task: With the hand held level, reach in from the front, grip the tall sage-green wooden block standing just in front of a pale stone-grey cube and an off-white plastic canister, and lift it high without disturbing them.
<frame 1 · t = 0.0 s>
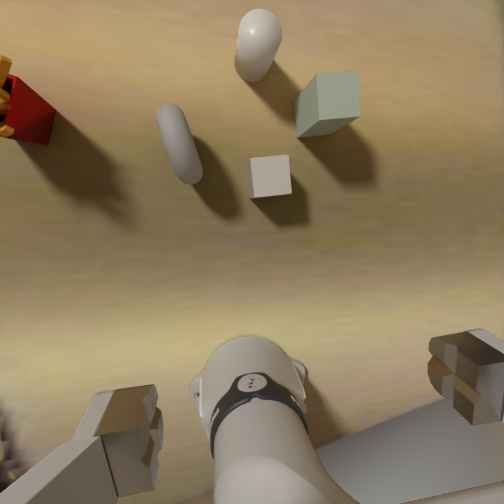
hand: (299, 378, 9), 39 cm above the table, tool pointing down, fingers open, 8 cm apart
sage block: (312, 118, 46), on the table
white canister: (252, 63, 44), on the table
grey cube: (264, 179, 47), on the table
french fries: (43, 119, 42), on the table
donut: (184, 152, 45), on the table
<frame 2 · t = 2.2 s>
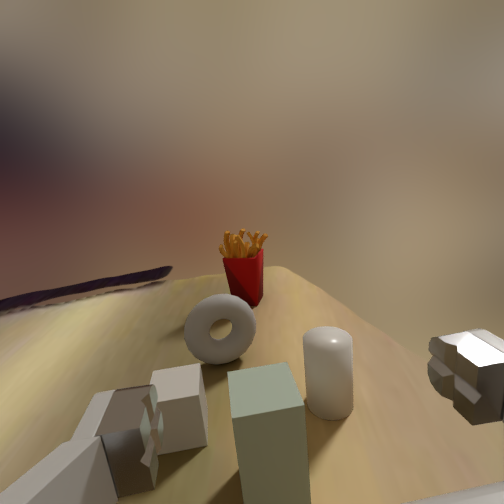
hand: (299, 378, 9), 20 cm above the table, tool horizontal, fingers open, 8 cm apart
sage block: (273, 488, 26), on the table
white canister: (329, 402, 35), on the table
grey cube: (183, 430, 33), on the table
french fries: (251, 303, 62), on the table
donut: (225, 362, 44), on the table
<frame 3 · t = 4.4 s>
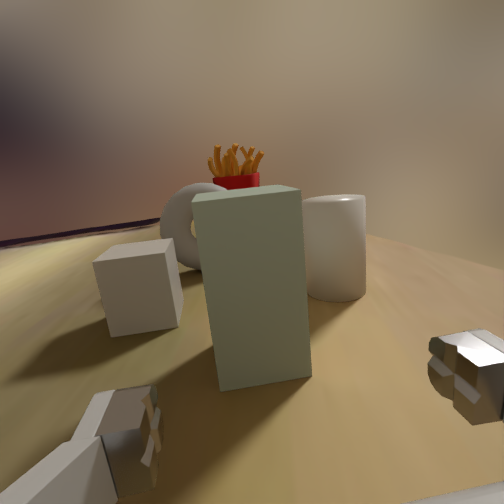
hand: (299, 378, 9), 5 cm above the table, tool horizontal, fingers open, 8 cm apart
sage block: (259, 357, 19), on the table
white canister: (335, 289, 28), on the table
grey cube: (151, 317, 26), on the table
french fries: (245, 233, 55), on the table
donut: (211, 270, 37), on the table
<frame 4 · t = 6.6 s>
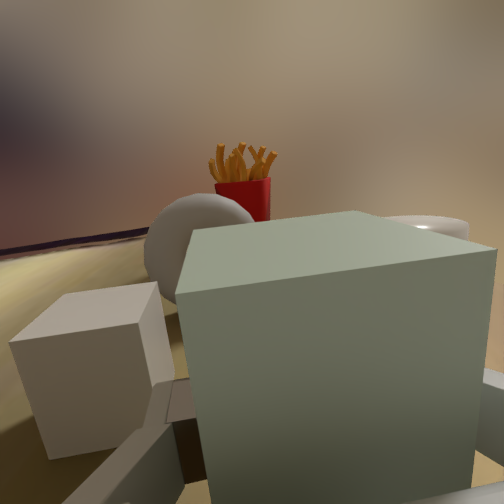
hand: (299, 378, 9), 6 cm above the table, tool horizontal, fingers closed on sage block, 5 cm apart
white canister: (405, 359, 18), on the table
grey cube: (122, 409, 17), on the table
french fries: (253, 250, 46), on the table
donut: (214, 309, 28), on the table
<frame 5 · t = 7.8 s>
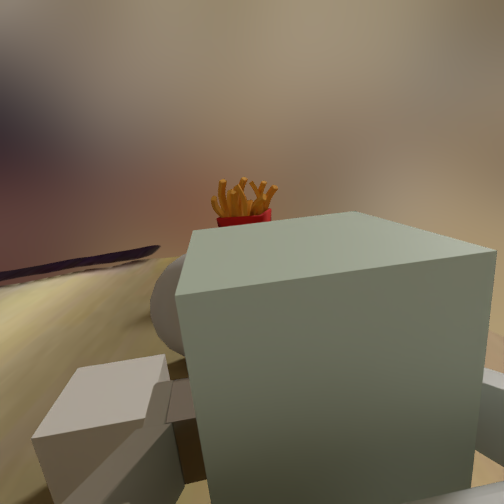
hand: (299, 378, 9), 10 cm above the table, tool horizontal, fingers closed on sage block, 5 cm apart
grey cube: (132, 479, 18), on the table
french fries: (255, 281, 47), on the table
donut: (217, 356, 29), on the table
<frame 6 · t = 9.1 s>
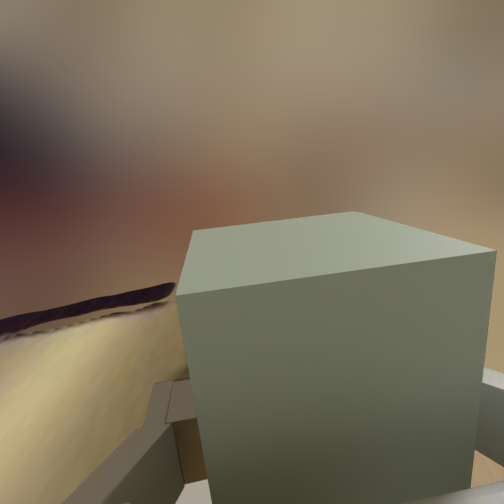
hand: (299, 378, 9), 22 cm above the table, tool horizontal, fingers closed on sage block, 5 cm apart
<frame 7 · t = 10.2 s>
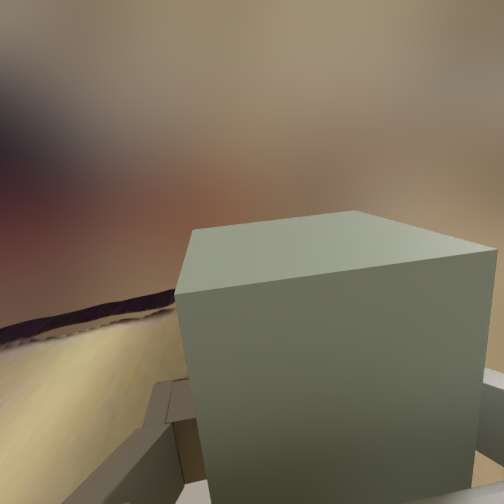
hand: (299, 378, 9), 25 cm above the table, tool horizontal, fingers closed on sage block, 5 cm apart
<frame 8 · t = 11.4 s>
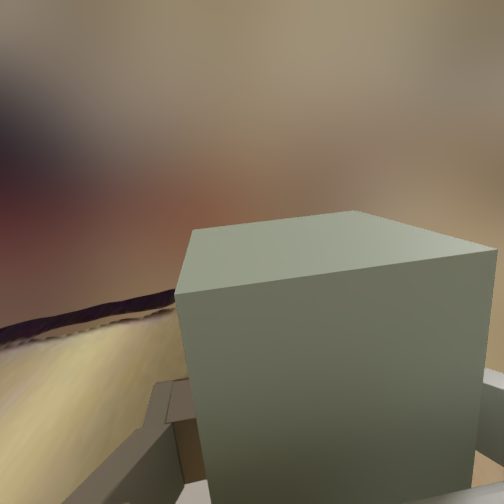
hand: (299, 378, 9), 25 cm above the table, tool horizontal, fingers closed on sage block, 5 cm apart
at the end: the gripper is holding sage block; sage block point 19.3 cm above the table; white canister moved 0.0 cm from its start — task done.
